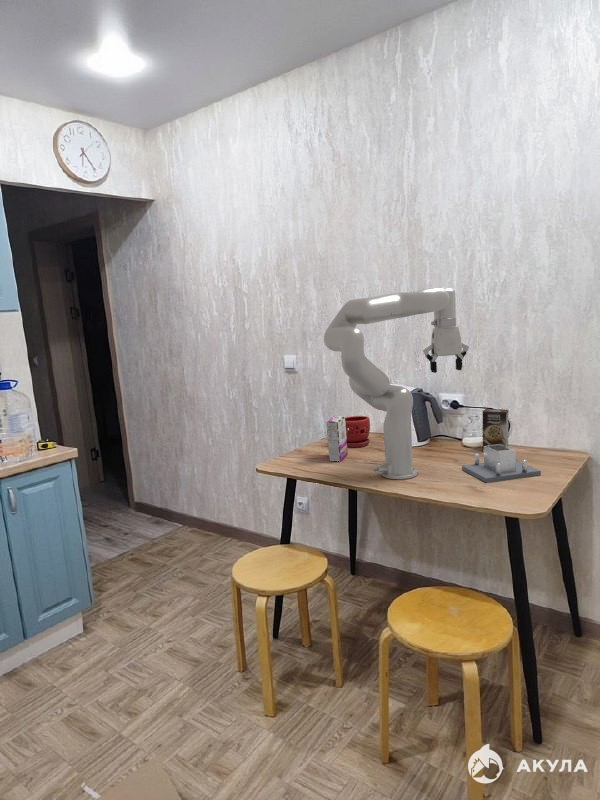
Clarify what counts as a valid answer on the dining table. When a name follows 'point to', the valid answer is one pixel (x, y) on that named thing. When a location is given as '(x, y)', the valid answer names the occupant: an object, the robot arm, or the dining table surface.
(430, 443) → the dining table surface
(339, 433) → the candy bar box
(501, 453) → the block
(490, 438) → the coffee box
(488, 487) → the dining table surface
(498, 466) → the guide pins
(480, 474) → the pin board
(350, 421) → the plant pot
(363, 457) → the dining table surface
